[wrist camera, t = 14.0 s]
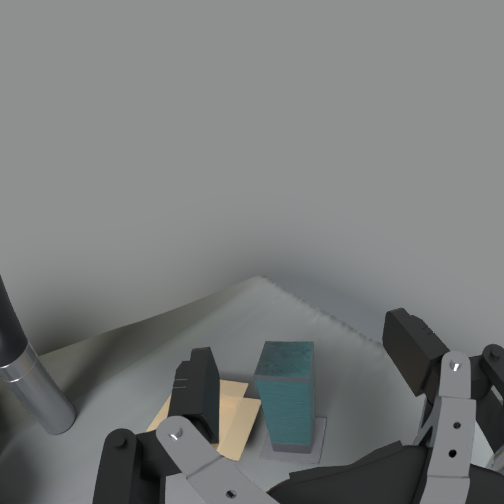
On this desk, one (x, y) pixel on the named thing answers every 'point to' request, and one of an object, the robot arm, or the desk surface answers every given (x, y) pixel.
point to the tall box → (288, 394)
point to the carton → (227, 418)
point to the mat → (299, 457)
